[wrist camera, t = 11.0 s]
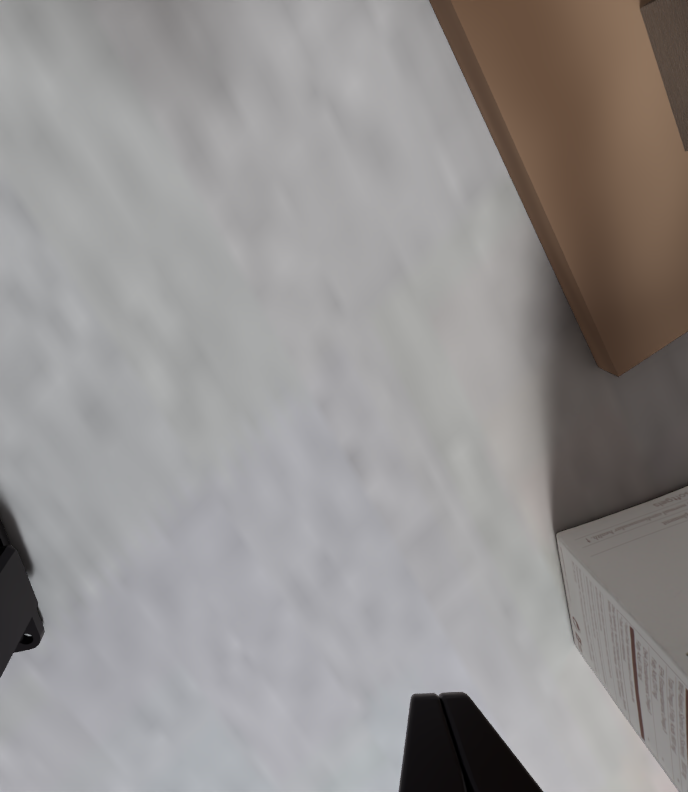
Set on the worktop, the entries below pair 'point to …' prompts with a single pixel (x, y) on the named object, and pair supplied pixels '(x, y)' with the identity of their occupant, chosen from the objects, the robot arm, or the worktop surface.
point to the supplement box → (636, 618)
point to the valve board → (587, 157)
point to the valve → (671, 54)
